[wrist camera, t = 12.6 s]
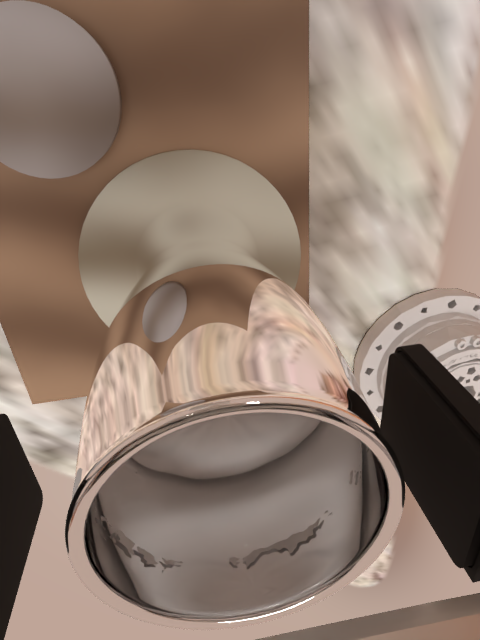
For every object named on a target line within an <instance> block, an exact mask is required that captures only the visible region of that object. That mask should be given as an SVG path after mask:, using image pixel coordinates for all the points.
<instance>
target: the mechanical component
mask: <svg viewBox="0 0 480 640" xmlns="http://www.w3.org/2000/svg"><path fill="white" fill-rule="evenodd" d="M413 344H422V345H423V346H424V347H425V348H426V349H427V350H428V351H429V352H430V353H431V354H432V355H433V356H434V357H435V358H436V359H437V360H438V361H439V362H440V363H441V364H442V365H443V366H444V367H445V368H446V369H447V370H448V371H449V372H450V373H451V374H452V375H453V376H454V377H455V378H456V379H457V380H458V381H459V382H460V383H461V384H462V386H463V387H464V388H465V389H466V390H467V391H468V392H469V393H470V394H471V395H472V396H473V397H474V398H475V399H476V400H477V401H478V402H479V403H480V297H478V296H477V295H475V294H473V293H470V292H467V291H463V290H460V289H433V290H430V291H426V292H422V293H419V294H415V295H413V296H411V297H409V298H407V299H405V300H403V301H401V302H400V303H398V304H396V305H394V306H393V307H392V308H391V309H390V310H388V311H387V312H386V313H385V314H384V315H382V316H381V317H380V318H379V319H378V320H377V321H376V322H375V323H374V325H373V326H372V327H371V328H370V329H369V331H368V332H367V333H366V335H365V337H364V338H363V340H362V342H361V344H360V346H359V348H358V351H357V354H356V357H355V363H354V377H355V379H356V381H357V383H358V385H359V387H360V388H361V390H362V392H363V394H364V396H365V398H366V400H367V403H368V405H369V407H370V409H371V411H372V412H373V413H374V414H375V415H376V416H377V417H378V418H379V419H380V420H381V417H382V409H383V401H384V392H385V384H386V376H387V368H388V360H389V356H390V354H392V353H395V350H396V348H397V347H400V346H406V345H413Z"/></svg>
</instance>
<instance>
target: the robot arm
mask: <svg viewBox="0 0 480 640" xmlns="http://www.w3.org/2000/svg"><path fill="white" fill-rule="evenodd" d="M380 429H381V431H382V433H383V435H384V437H385V439H386V441H387V442H388V443H389V444H390V446H391V447H392V449H393V450H394V452H395V454H396V456H397V458H398V460H399V462H400V465H401V468H402V471H403V476H404V481H405V482H406V484H407V486H408V487H409V489H410V491H411V492H412V494H413V496H414V497H415V499H416V501H417V502H418V504H419V506H420V507H421V509H422V511H423V512H424V514H425V516H426V517H427V519H428V521H429V522H430V524H431V526H432V527H433V529H434V531H435V532H436V534H437V536H438V537H439V539H440V541H441V542H442V544H443V546H444V547H445V549H446V550H447V552H448V554H449V556H450V557H451V559H452V561H453V562H454V563H455V565H456V566H458V567H459V568H464V569H465V570H466V572H467V574H468V575H469V577H470V579H471V580H472V582H477V581H480V403H479V402H478V401H477V400H476V399H475V398H474V397H473V396H472V395H471V394H470V393H469V392H468V391H467V390H466V389H465V388H464V387H463V386H462V384H461V383H460V382H459V381H458V380H457V379H456V378H455V377H454V376H453V375H452V374H451V373H450V372H449V371H448V370H447V369H446V368H445V367H444V366H443V365H442V364H441V363H440V362H439V361H438V360H437V359H436V358H435V357H434V356H433V355H432V354H431V353H430V352H429V351H428V350H427V349H426V348H425V347H424V346H423V345H422V344H413V345H406V346H400V347H397V348H396V350H395V353H392V354H390V356H389V360H388V368H387V376H386V384H385V392H384V401H383V409H382V417H381V425H380ZM42 501H43V495H42V490H41V488H40V486H39V484H38V481H37V479H36V477H35V475H34V472H33V470H32V468H31V466H30V464H29V462H28V459H27V457H26V455H25V453H24V451H23V448H22V446H21V444H20V442H19V440H18V438H17V435H16V433H15V431H14V429H13V427H12V424H11V422H10V420H9V418H8V416H7V415H6V414H0V640H4V637H5V634H6V630H7V626H8V623H9V619H10V616H11V612H12V609H13V605H14V602H15V598H16V595H17V591H18V588H19V584H20V580H21V577H22V574H23V570H24V566H25V563H26V560H27V556H28V553H29V549H30V546H31V542H32V539H33V535H34V531H35V528H36V524H37V521H38V518H39V514H40V510H41V507H42ZM257 640H480V593H477V594H473V595H467V596H461V597H456V598H451V599H446V600H441V601H435V602H431V603H426V604H422V605H416V606H412V607H407V608H402V609H398V610H393V611H388V612H383V613H379V614H374V615H369V616H364V617H359V618H355V619H350V620H345V621H341V622H336V623H331V624H326V625H321V626H317V627H312V628H307V629H303V630H299V631H293V632H289V633H284V634H280V635H275V636H270V637H266V638H261V639H257Z"/></svg>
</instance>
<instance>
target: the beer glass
mask: <svg viewBox="0 0 480 640" xmlns="http://www.w3.org/2000/svg"><path fill="white" fill-rule="evenodd" d="M135 272H136V277H137V281H138V282H137V283H136V284H135V286H134V287H133V289H132V290H131V292H130V293H129V294H128V296H127V297H126V299H125V300H124V302H123V303H122V305H121V306H120V308H119V310H118V312H117V314H116V316H115V317H114V319H113V321H112V323H111V325H110V327H109V329H108V331H107V333H106V335H105V337H104V340H103V343H102V346H101V349H100V352H99V355H98V358H97V361H96V364H95V367H94V370H93V373H92V377H91V382H90V386H89V391H88V396H87V400H86V405H85V409H84V415H83V421H82V428H81V435H80V442H79V448H78V456H77V465H76V473H75V481H74V488H73V495H72V502H71V504H70V507H69V510H68V514H67V519H66V527H65V540H66V548H67V553H68V556H69V560H70V562H71V565H72V567H73V569H74V571H75V573H76V574H77V576H78V577H79V579H80V580H81V582H82V583H83V584H84V585H85V587H86V588H87V589H88V590H89V591H90V592H91V593H92V594H93V595H94V596H95V597H97V598H98V599H99V600H101V601H102V602H103V603H105V604H106V605H108V606H109V607H111V608H113V609H115V610H116V611H118V612H120V613H122V614H125V615H127V616H129V617H132V618H134V619H137V620H140V621H144V622H147V623H151V624H155V625H160V626H165V627H171V628H179V629H192V630H215V629H229V628H237V627H243V626H249V625H254V624H259V623H263V622H267V621H271V620H275V619H278V618H281V617H284V616H287V615H290V614H293V613H296V612H298V611H301V610H303V609H305V608H308V607H310V606H312V605H314V604H316V603H318V602H320V601H322V600H324V599H325V598H327V597H329V596H331V595H332V594H334V593H336V592H337V591H339V590H340V589H342V588H344V587H345V586H346V585H348V584H349V583H351V582H352V581H353V580H354V579H356V578H357V577H358V576H359V575H360V574H362V573H363V572H364V571H365V570H366V569H367V568H368V567H369V566H370V565H371V564H372V563H373V562H374V561H375V560H376V559H377V558H378V556H379V555H380V554H381V553H382V552H383V550H384V549H385V547H386V546H387V545H388V543H389V542H390V540H391V538H392V537H393V535H394V533H395V531H396V529H397V526H398V524H399V521H400V518H401V515H402V512H403V507H404V500H405V481H404V476H403V471H402V468H401V465H400V462H399V460H398V458H397V456H396V454H395V452H394V450H393V449H392V447H391V446H390V444H389V443H388V442H387V441H386V439H385V437H384V435H383V433H382V431H381V429H380V427H379V425H378V423H377V421H376V419H375V417H374V415H373V413H372V411H371V409H370V407H369V405H368V403H367V400H366V398H365V396H364V394H363V392H362V390H361V388H360V387H359V385H358V383H357V381H356V379H355V377H354V375H353V373H352V371H351V369H350V367H349V365H348V363H347V362H346V360H345V358H344V357H343V355H342V353H341V352H340V350H339V348H338V347H337V345H336V343H335V342H334V340H333V338H332V336H331V335H330V333H329V332H328V330H327V329H326V328H325V326H324V325H323V324H322V322H321V321H320V320H319V318H318V317H317V316H316V314H315V313H314V312H313V310H312V309H311V308H310V306H309V305H308V304H307V303H306V301H305V300H304V299H303V298H302V297H301V296H300V295H299V294H298V293H297V292H295V291H294V290H293V289H292V288H291V287H290V286H289V285H288V284H287V283H286V282H285V281H284V280H283V279H282V278H280V277H279V276H278V275H277V274H275V273H274V272H273V271H271V270H270V269H269V268H267V267H266V266H265V265H263V264H262V263H260V261H259V253H258V248H257V245H256V242H255V240H254V237H253V235H252V234H251V232H250V230H249V229H248V227H247V226H246V225H245V224H244V223H243V222H242V221H241V220H240V219H239V218H238V217H237V216H236V215H234V214H233V213H231V212H229V211H228V210H226V209H223V208H221V207H218V206H215V205H211V204H205V203H188V204H183V205H179V206H176V207H173V208H171V209H169V210H167V211H165V212H163V213H162V214H160V215H159V216H158V217H156V218H155V219H154V220H153V221H152V222H151V223H150V224H149V225H148V226H147V228H146V229H145V231H144V232H143V234H142V236H141V238H140V240H139V242H138V245H137V249H136V254H135Z"/></svg>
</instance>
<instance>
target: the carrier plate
mask: <svg viewBox="0 0 480 640" xmlns="http://www.w3.org/2000/svg"><path fill="white" fill-rule="evenodd" d="M188 203H205V204H211V205H215V206H218V207H221V208H223V209H226V210H228V211H229V212H231V213H233V214H234V215H236V216H237V217H238V218H239V219H240V220H241V221H242V222H243V223H244V224H245V225H246V226H247V227H248V229H249V230H250V232H251V234H252V235H253V237H254V240H255V242H256V245H257V248H258V253H259V261H260V263H262V264H263V265H265V266H266V267H267V268H269V269H270V270H271V271H273V272H274V273H275V274H277V275H278V276H279V277H280V278H282V279H283V280H284V281H285V282H286V283H287V284H288V285H289V286H290V287H291V288H292V289H293V290H294V291H295V292H297V293H298V294H299V295H300V296H301V297H302V298H303V299H304V300H305V301H306V303H307V304H308V305H309V0H0V323H1V325H2V328H3V330H4V333H5V335H6V338H7V340H8V343H9V345H10V348H11V350H12V353H13V356H14V358H15V361H16V363H17V366H18V368H19V371H20V373H21V376H22V378H23V381H24V383H25V386H26V388H27V391H28V393H29V396H30V399H31V401H32V404H37V403H44V402H51V401H57V400H64V399H71V398H77V397H84V396H88V391H89V386H90V382H91V377H92V373H93V370H94V367H95V364H96V361H97V358H98V355H99V352H100V349H101V346H102V343H103V340H104V337H105V335H106V333H107V331H108V329H109V327H110V325H111V323H112V321H113V319H114V317H115V316H116V314H117V312H118V310H119V308H120V306H121V305H122V303H123V302H124V300H125V299H126V297H127V296H128V294H129V293H130V292H131V290H132V289H133V287H134V286H135V284H136V283H137V282H138V281H137V277H136V272H135V254H136V249H137V245H138V242H139V240H140V238H141V236H142V234H143V232H144V231H145V229H146V228H147V226H148V225H149V224H150V223H151V222H152V221H153V220H154V219H155V218H156V217H158V216H159V215H160V214H162V213H163V212H165V211H167V210H169V209H171V208H173V207H176V206H179V205H183V204H188Z"/></svg>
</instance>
